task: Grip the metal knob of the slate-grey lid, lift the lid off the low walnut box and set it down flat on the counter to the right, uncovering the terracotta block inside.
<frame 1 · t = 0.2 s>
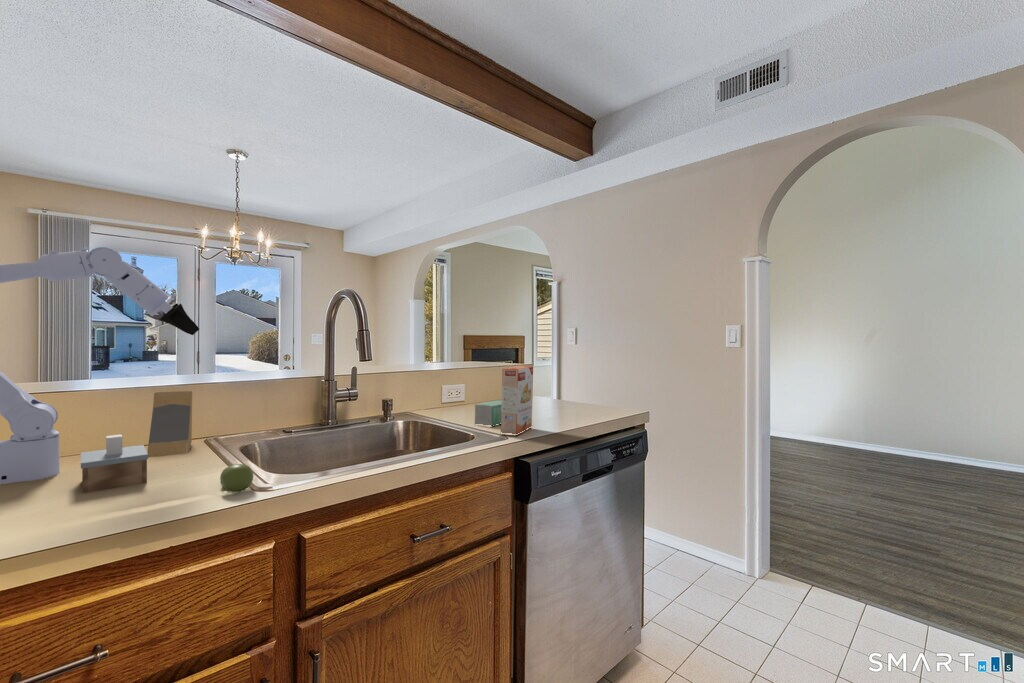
hand: (194, 331, 115), 31 cm above the worktop, tool tilted 45°, fingers open, 7 cm apart
sandwich container: (170, 453, 121), on the worktop
box: (494, 424, 163), on the worktop
cracker box: (517, 432, 150), on the worktop
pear: (235, 489, 95), on the worktop
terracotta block: (114, 481, 95), point 1 cm above the worktop, touching walnut box
lid: (114, 458, 95), point 5 cm above the worktop, touching walnut box
walnut box: (114, 485, 95), on the worktop
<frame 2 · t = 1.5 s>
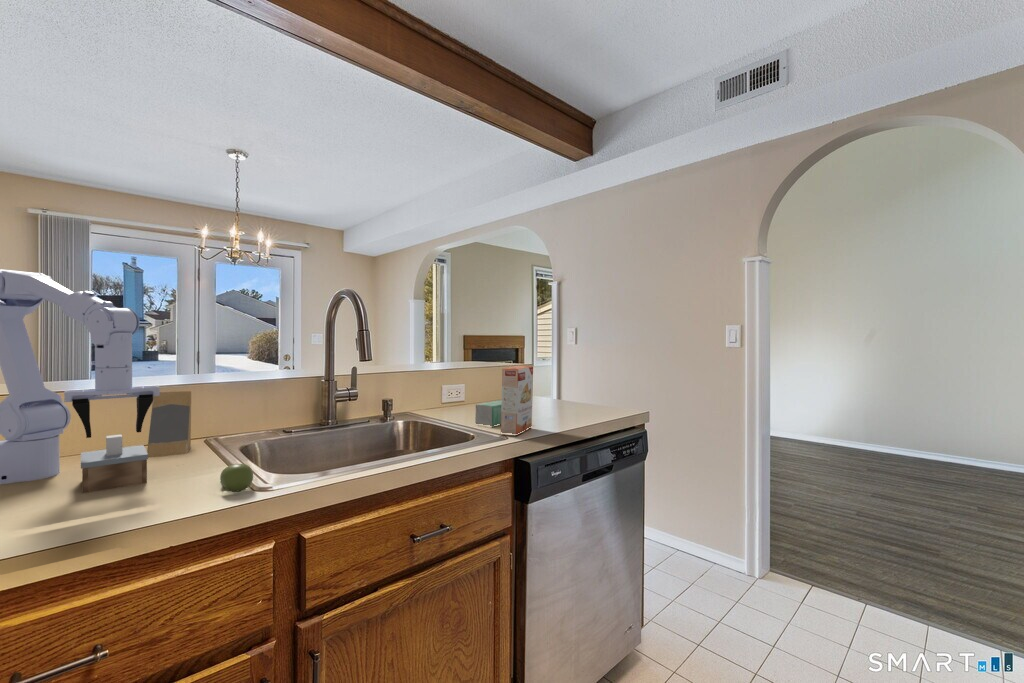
hand: (114, 434, 95), 10 cm above the worktop, tool pointing down, fingers open, 7 cm apart
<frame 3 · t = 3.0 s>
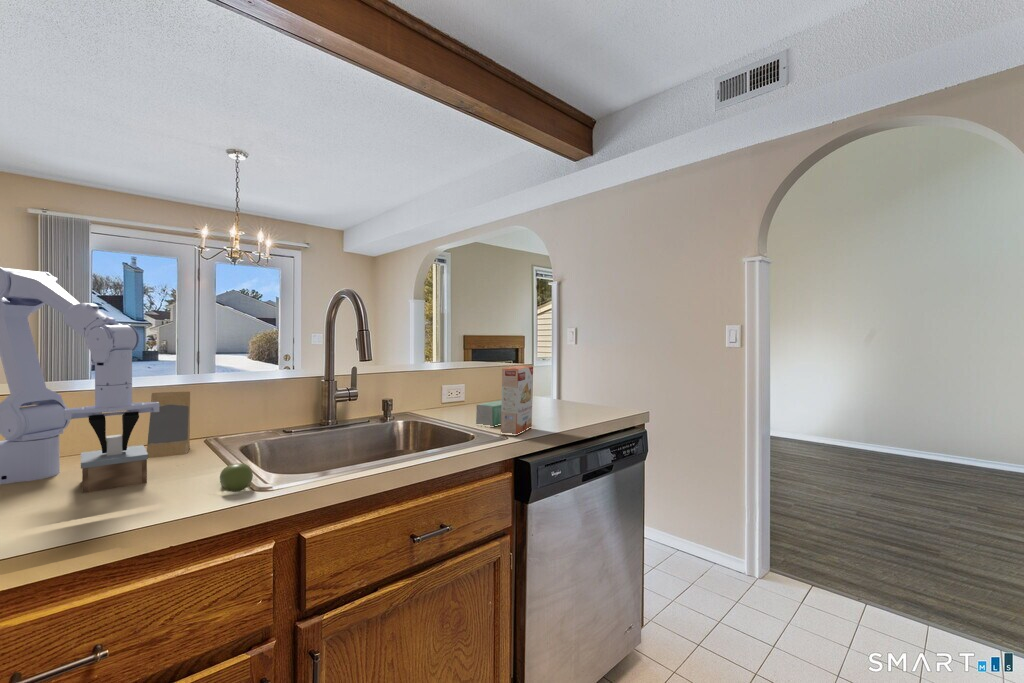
hand: (114, 450, 95), 7 cm above the worktop, tool pointing down, fingers closed on lid, 2 cm apart
lid: (114, 458, 95), point 5 cm above the worktop, touching gripper, walnut box
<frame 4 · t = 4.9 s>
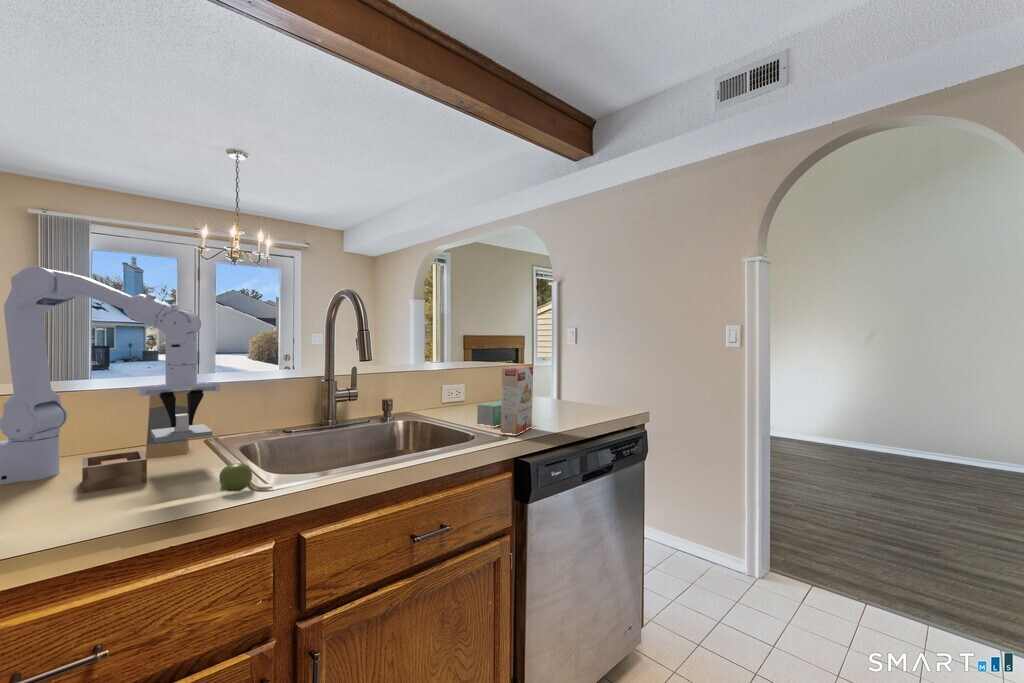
hand: (181, 425, 104), 10 cm above the worktop, tool pointing down, fingers closed on lid, 2 cm apart
lid: (181, 434, 104), point 8 cm above the worktop, touching gripper
when the fingers open (4 cm above the worktop, at t = 6.8 s): lid drops 2 cm, on the worktop.
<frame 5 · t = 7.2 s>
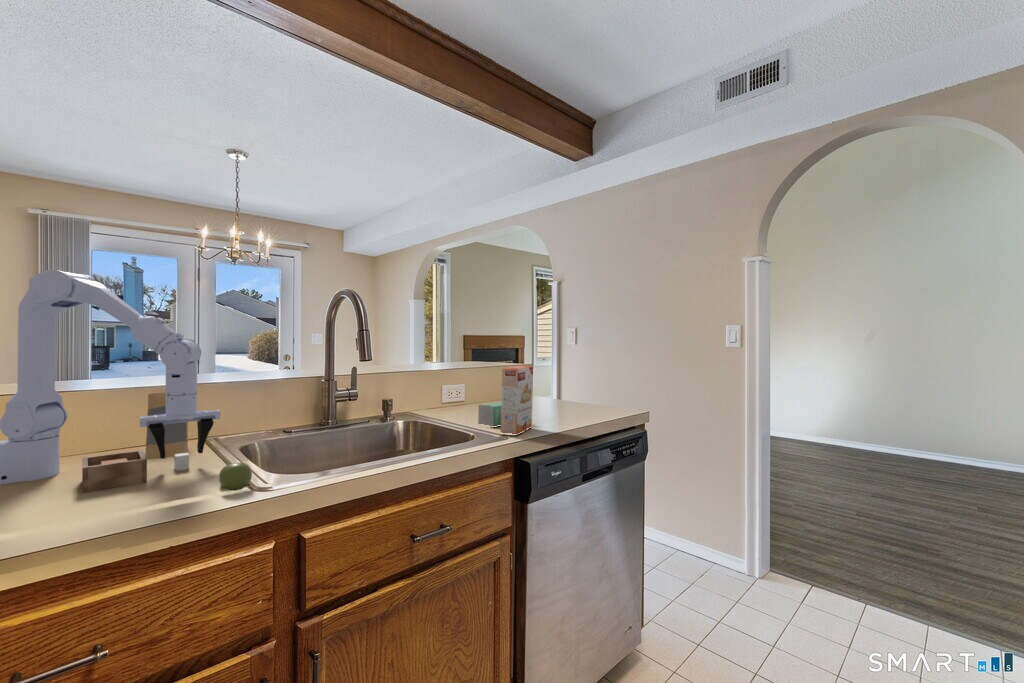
hand: (181, 455, 104), 4 cm above the worktop, tool pointing down, fingers open, 6 cm apart
lid: (181, 474, 104), on the worktop
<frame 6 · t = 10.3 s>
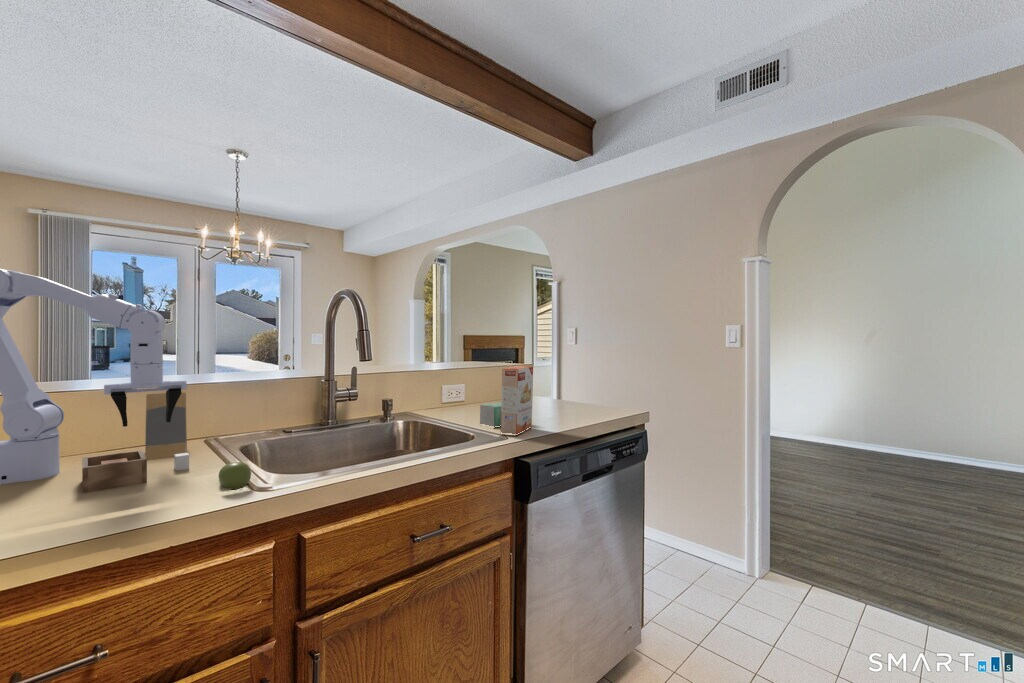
hand: (147, 423, 105), 10 cm above the worktop, tool pointing down, fingers open, 7 cm apart
at the end: lid inside the target area (0.1 cm from its centre), on the worktop; lid touching worktop; lid tilted 0° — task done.
